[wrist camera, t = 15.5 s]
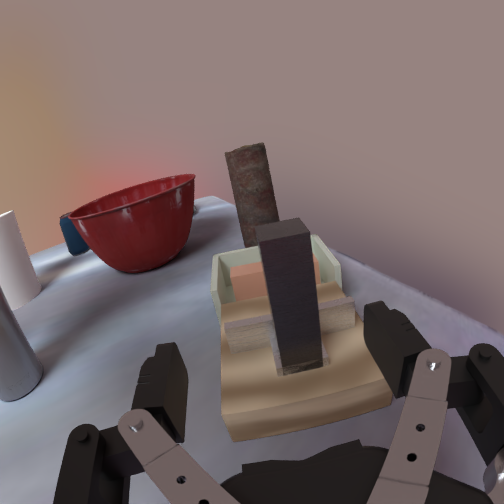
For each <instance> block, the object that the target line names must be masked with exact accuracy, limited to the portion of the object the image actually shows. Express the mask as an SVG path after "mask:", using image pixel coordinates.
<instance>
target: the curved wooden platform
mask: <svg viewBox="0 0 504 504" xmlns="http://www.w3.org/2000/svg"><path fill="white" fill-rule="evenodd" d="M316 288H317V298H318V304H319V303H323V302H327V301H332V300H336V299H340V298H344V297H346V296H345V294H344V293H343V291H342V290H341V288H340V287H339V285H338V284H337V282H336V281H331V282H327V283H323V284H318V285H316ZM268 314H271V311H270V306H269V300H268V295H267V296H262V297H257V298H252V299H247V300H242V301H237V302H231V303H226V304H221V414H222V417H223V420H224V422H225V425H226V427H227V429H228V432H229V434H230V436H231V439H232V441H233V442H237V441H244V440H251V439H257V438H263V437H269V436H274V435H280V434H285V433H290V432H294V431H299V430H304V429H308V428H312V427H316V426H321V425H325V424H329V423H332V422H336V421H340V420H343V419H347V418H351V417H354V416H357V415H361V414H364V413H367V412H370V411H374V410H377V409H380V408H383V407H386V406H389V405H391V400H392V394H393V392H392V391H391V389H390V387H389V385H388V383H387V382H386V380H385V378H384V376H383V375H382V373H381V371H380V369H379V367H378V366H377V364H376V362H375V361H374V359H373V357H372V355H371V354H370V352H369V350H368V348H367V347H366V344H365V341H364V336H363V327H364V323H363V322H362V320H361V319H360V317H359V316H358V314H357V312H356V311H355V327H354V328H350V329H346V330H342V331H338V332H334V333H330V334H326V335H322V336H321V340H322V342H323V345H324V347H325V349H326V352H327V354H328V357H329V365H328V366H324V367H320V368H316V369H312V370H308V371H303V372H299V373H294V374H290V375H285V376H280V377H278V376H277V371H276V366H275V361H274V356H273V352H272V347H268V348H263V349H257V350H252V351H247V352H241V353H236V354H231V351H230V347H229V344H228V341H227V337H226V334H225V330H224V323H227V322H232V321H237V320H243V319H248V318H253V317H258V316H263V315H268Z"/></svg>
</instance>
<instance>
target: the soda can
mask: <svg viewBox="0 0 504 504" xmlns="http://www.w3.org/2000/svg"><path fill="white" fill-rule="evenodd" d="M70 213H72V212H70ZM70 213H67V214H65V215H63V216H61V217H60V226H61V229H62V232H63V235H64V238H65V241H66V244H67V247H68V250H69V252H70V253H71V254H72V255H73V256H77V255H80V254H83V253H85V252H87V251H88V250H89V246H88V245H87V243H86V242H85V241H84V239H83V238H82V237H81V235H80V234H79V232H78V231H77V229H76V227H75V226H74V224H73V222H72V221H71V219H69V218H68V216H69V215H70Z"/></svg>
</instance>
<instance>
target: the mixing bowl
mask: <svg viewBox="0 0 504 504" xmlns="http://www.w3.org/2000/svg"><path fill="white" fill-rule="evenodd" d="M194 178H195V175H194V174H184V175H177V176H171V177H166V178H162V179H157V180H153V181H149V182H146V183H142V184H139V185H136V186H132V187H129V188H126V189H123V190H120V191H117V192H114V193H111V194H109V195H106V196H104V197H101V198H99V199H96V200H94V201H92V202H90V203H88V204H85V205H83V206H81V207H80V208H78V209H76V210H75V211H73V212H72V213H70V215H69V216H68V218H69V219H71V221H72V222H73V224H74V226H75V227H76V229H77V231H78V232H79V234H80V235H81V237H82V238H83V239H84V241H85V242H86V243H87V245H88V246H89V247H90V248H91V249H92V251H93V252H94V253H95V254H96V255H97V256H98V257H99V258H100V259H101V260H102V261H104V262H105V263H106V264H107V265H109V266H110V267H112V268H114V269H116V270H120V271H125V272H128V273H138V272H143V271H147V270H151V269H154V268H157V267H159V266H161V265H163V264H165V263H167V262H169V261H170V260H172V259H173V258H174V257H176V256H177V254H178V253H179V251H180V250H181V249H182V248H183V247H184V245H185V243H186V241H187V239H188V236H189V233H190V228H191V223H192V217H193V208H194Z"/></svg>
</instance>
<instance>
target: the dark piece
mask: <svg viewBox="0 0 504 504" xmlns="http://www.w3.org/2000/svg"><path fill="white" fill-rule="evenodd" d="M254 227H255V232H256V237H257V242H258V248H259V253H260V258H261V263H262V269H263V274H264V279H265V285H266V290H267V295H268V300H269V306H270V311H271V314H268V315H263V316H258V317H253V318H248V319H243V320H237V321H232V322H227V323H224V330H225V334H226V337H227V341H228V344H229V347H230V351H231V354H236V353H241V352H247V351H252V350H257V349H263V348H268V347H272V352H273V356H274V361H275V366H276V371H277V376H278V377H280V376H285V375H290V374H294V373H299V372H303V371H308V370H312V369H316V368H320V367H324V366H328V365H329V357H328V354H327V352H326V349H325V347H324V345H323V342H322V340H321V336H322V335H326V334H330V333H334V332H338V331H342V330H346V329H350V328H354V327H355V301H354V300H353V298H352V297H351V296H348V297H344V298H340V299H336V300H332V301H327V302H323V303H319V304H318V298H317V288H316V279H315V270H314V261H313V252H312V244H311V236H310V231H309V230H308V229H307V227H306V226H305V225H304V224H303V222H302V221H301V220H300V218H295V219H290V220H284V221H279V222H274V223H269V224H264V225H259V226H254Z"/></svg>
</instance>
